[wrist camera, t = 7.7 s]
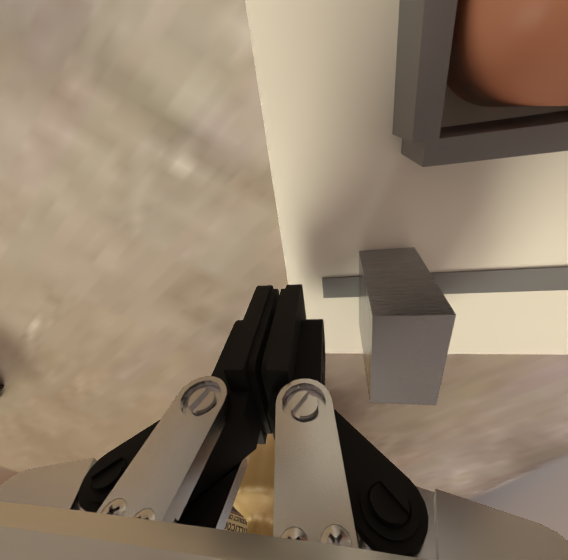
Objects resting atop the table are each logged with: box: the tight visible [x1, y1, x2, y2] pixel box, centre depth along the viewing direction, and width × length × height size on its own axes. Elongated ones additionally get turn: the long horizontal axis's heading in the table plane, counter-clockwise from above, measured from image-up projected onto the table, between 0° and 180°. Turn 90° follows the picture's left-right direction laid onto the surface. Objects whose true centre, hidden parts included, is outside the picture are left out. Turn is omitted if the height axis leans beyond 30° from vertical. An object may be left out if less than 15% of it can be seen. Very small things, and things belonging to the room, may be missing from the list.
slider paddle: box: [359, 247, 456, 405], centre depth 10 cm, size 2×4×4 cm, turn 8°
